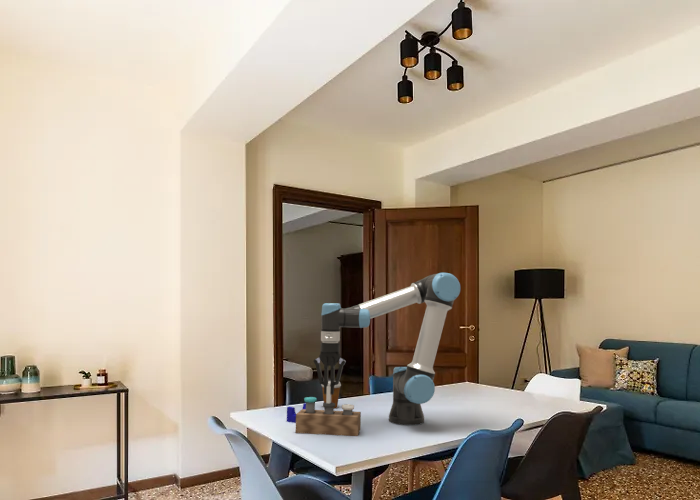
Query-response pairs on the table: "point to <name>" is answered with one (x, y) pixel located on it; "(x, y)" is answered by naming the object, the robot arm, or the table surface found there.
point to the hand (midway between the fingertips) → (328, 402)
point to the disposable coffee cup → (335, 396)
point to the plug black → (328, 408)
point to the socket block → (328, 423)
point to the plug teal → (310, 404)
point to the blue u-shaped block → (292, 413)
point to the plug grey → (347, 409)
